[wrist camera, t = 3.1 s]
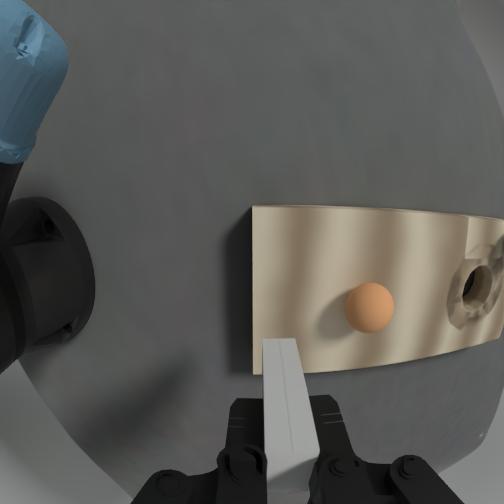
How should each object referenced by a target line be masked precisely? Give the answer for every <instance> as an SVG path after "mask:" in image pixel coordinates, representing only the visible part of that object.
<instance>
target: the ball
mask: <svg viewBox="0 0 504 504" xmlns="http://www.w3.org/2000/svg"><path fill="white" fill-rule="evenodd" d="M393 312H394V302H393V298H392V296H391V294H390V293H389V291H388V290H387V289H386V288H385V287H383V286H382V285H380V284H377V283H364V284H361V285H359V286H357V287H356V288H355V289H354V290H353V291H352V292H351V293H350V294H349V296H348V298H347V300H346V304H345V314H346V318H347V320H348V322H349V324H350V325H351V326H352V327H353V328H354V329H356V330H357V331H359V332H362V333H375V332H378V331H380V330H382V329H383V328H384V327H386V326H387V324H388V323H389V322H390V320H391V318H392V316H393Z"/></svg>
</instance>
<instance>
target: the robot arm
mask: <svg viewBox="0 0 504 504" xmlns="http://www.w3.org/2000/svg"><path fill="white" fill-rule="evenodd" d="M67 69H68V52H67V48H66V45H65V43H64V41H63V40H62V38H61V37H60V36H59V35H58V34H57V33H56V31H55V30H54V29H53V28H52V27H51V26H50V25H49V24H48V23H47V22H46V21H45V20H44V19H43V18H41V17H40V16H39V15H38V14H37V13H36V12H35V11H34V10H33V9H31V8H30V7H29V6H28V5H27V4H26V3H25V2H23V1H22V0H0V374H1V373H2V372H3V371H4V370H5V369H7V368H8V367H9V366H10V365H11V364H12V363H13V362H14V361H15V360H16V359H18V358H19V357H20V356H21V355H23V354H24V353H27V352H31V351H34V350H38V349H42V348H45V347H49V346H52V345H56V344H59V343H62V342H65V341H66V340H68V339H70V338H71V337H72V336H73V335H75V334H76V333H77V332H78V331H79V330H80V329H81V328H82V327H83V326H84V325H85V324H86V322H87V321H88V319H89V317H90V315H91V312H92V309H93V305H94V298H95V278H94V271H93V265H92V261H91V257H90V253H89V250H88V247H87V245H86V242H85V240H84V238H83V236H82V234H81V232H80V230H79V228H78V226H77V225H76V223H75V222H74V220H73V219H72V217H71V216H70V215H69V214H68V213H67V212H66V211H65V210H64V209H63V208H62V207H61V206H60V205H59V204H57V203H56V202H54V201H52V200H50V199H48V198H44V197H28V198H21V199H17V200H15V201H12V202H11V203H9V200H10V197H11V194H12V191H13V188H14V186H15V183H16V180H17V178H18V175H19V173H20V170H21V168H22V165H23V163H24V161H26V160H27V158H28V156H29V154H30V153H31V151H32V149H33V147H34V146H35V142H36V133H37V131H38V129H39V126H40V124H41V122H42V120H43V118H44V116H45V114H46V112H47V110H48V109H49V107H50V105H51V103H52V101H53V99H54V98H55V96H56V94H57V92H58V91H59V89H60V87H61V85H62V83H63V81H64V79H65V76H66V73H67ZM8 203H9V204H8ZM217 464H218V468H216V469H215V470H213V471H211V472H209V473H205V474H200V475H193V476H187V475H185V474H183V473H182V472H180V471H176V470H171V469H170V470H161V471H159V472H156V473H154V474H153V475H152V476H151V477H150V478H149V479H148V480H147V482H146V483H145V484H144V486H143V487H142V489H141V490H140V491H139V493H138V494H137V495H136V497H135V498H134V500H133V501H132V502H131V504H267V493H286V492H300V491H307V490H308V487H309V490H310V498H309V501H308V503H307V504H464V503H463V502H462V501H461V500H460V499H459V498H458V496H457V495H456V494H455V493H454V492H453V491H452V490H451V489H450V488H449V487H448V485H447V484H445V482H444V481H443V480H442V479H441V478H440V477H439V476H438V474H437V473H436V472H435V471H434V470H433V469H432V468H431V467H430V466H429V465H428V463H427V462H426V461H425V460H423V459H422V458H421V457H418V456H415V455H405V456H402V457H399V458H397V459H396V460H395V461H394V462H393V463H392V464H375V463H368V462H366V461H363V460H361V458H359V457H358V456H356V455H355V453H354V451H353V449H352V446H351V443H350V440H349V437H348V434H347V431H346V428H345V425H344V422H343V418H342V415H341V414H340V409H339V406H338V403H337V402H336V401H335V400H334V399H333V398H332V397H331V396H330V395H318V396H308V392H307V388H306V383H305V379H304V374H303V370H302V366H301V361H300V357H299V353H298V348H297V344H296V340H295V338H283V339H263V347H262V399H253V398H237V399H236V400H235V401H234V403H233V404H232V405H231V407H230V413H229V421H228V429H227V437H226V445H225V448H224V449H223V450H222V451H221V452H220V453H219V455H218V457H217Z"/></svg>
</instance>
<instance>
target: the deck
mask: <svg viewBox="0 0 504 504" xmlns="http://www.w3.org/2000/svg"><path fill="white" fill-rule="evenodd" d="M252 242H253V374H262V347H263V339H283V338H295V340H296V344H297V348H298V353H299V357H300V361H301V366H302V370H303V373H314V372H327V371H339V370H348V369H357V368H365V367H373V366H380V365H387V364H393V363H399V362H405V361H410V360H415V359H420V358H425V357H430V356H435V355H439V354H443V353H448V352H452V351H456V350H459V349H463V348H467V347H471V346H474V345H478V344H481V343H484V342H488V341H491V340H494V339H497V338H499V337H500V334H501V331H502V328H503V325H504V219H498V218H490V217H481V216H472V215H463V214H453V213H442V212H430V211H418V210H403V209H388V208H369V207H347V206H315V205H253V207H252ZM474 269H475V276H474V281H473V285H472V286H471V288H470V290H469V292H468V293H467V294H466V295H465V296H464V297H463V298H462V295H463V290H464V285H465V283H466V281H467V279H468V277H469V275H470V273H471V272H472V271H473V270H474ZM364 283H377V284H380V285H382V286H383V287H385V288H386V289H387V290H388V291H389V293H390V294H391V296H392V298H393V302H394V312H393V316H392V318H391V320H390V322H389V323H388V324H387V326H386V327H384V328H383V329H382V330H380V331H378V332H375V333H362V332H359V331H357V330H356V329H354V328H353V327H352V326H351V325H350V324H349V322H348V320H347V318H346V314H345V304H346V300H347V298H348V296H349V294H350V293H351V292H352V291H353V290H354V289H355V288H356V287H357V286H359V285H361V284H364Z"/></svg>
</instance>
